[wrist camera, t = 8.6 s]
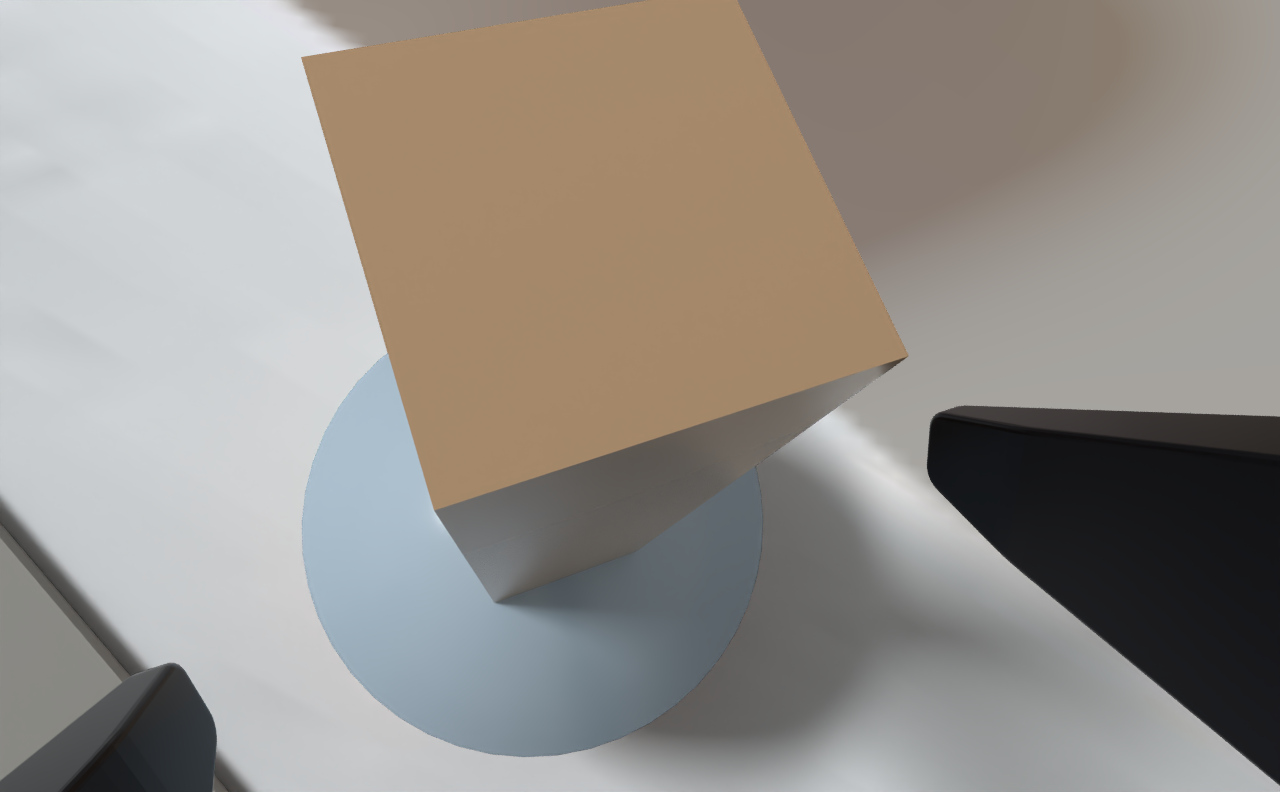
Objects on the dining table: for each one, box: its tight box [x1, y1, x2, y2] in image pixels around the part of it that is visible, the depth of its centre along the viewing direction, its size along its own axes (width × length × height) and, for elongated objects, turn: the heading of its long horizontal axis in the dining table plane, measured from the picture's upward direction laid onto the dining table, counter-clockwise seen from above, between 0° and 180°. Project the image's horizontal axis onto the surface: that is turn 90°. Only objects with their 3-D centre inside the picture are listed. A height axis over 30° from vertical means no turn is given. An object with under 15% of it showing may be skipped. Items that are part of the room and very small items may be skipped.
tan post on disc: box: [301, 0, 908, 757], centre depth 11 cm, size 10×10×13 cm
